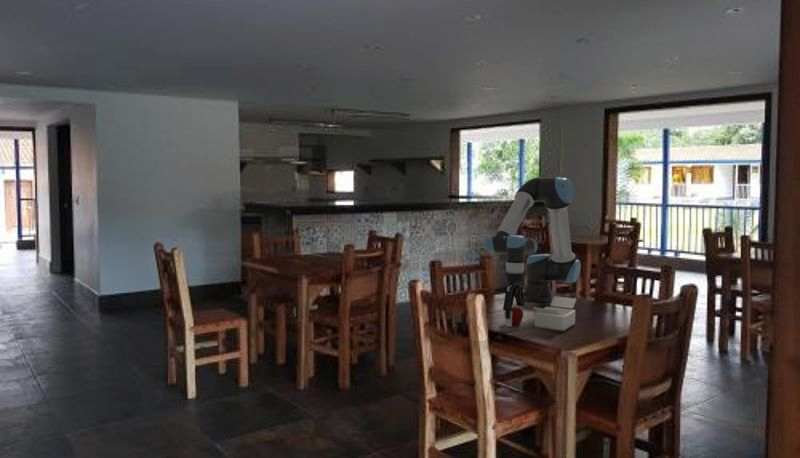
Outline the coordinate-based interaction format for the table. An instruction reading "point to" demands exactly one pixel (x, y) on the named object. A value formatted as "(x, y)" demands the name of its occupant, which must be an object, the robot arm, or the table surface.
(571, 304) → the flap
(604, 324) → the table surface
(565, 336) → the table surface
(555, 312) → the flap
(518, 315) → the apple
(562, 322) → the carton
